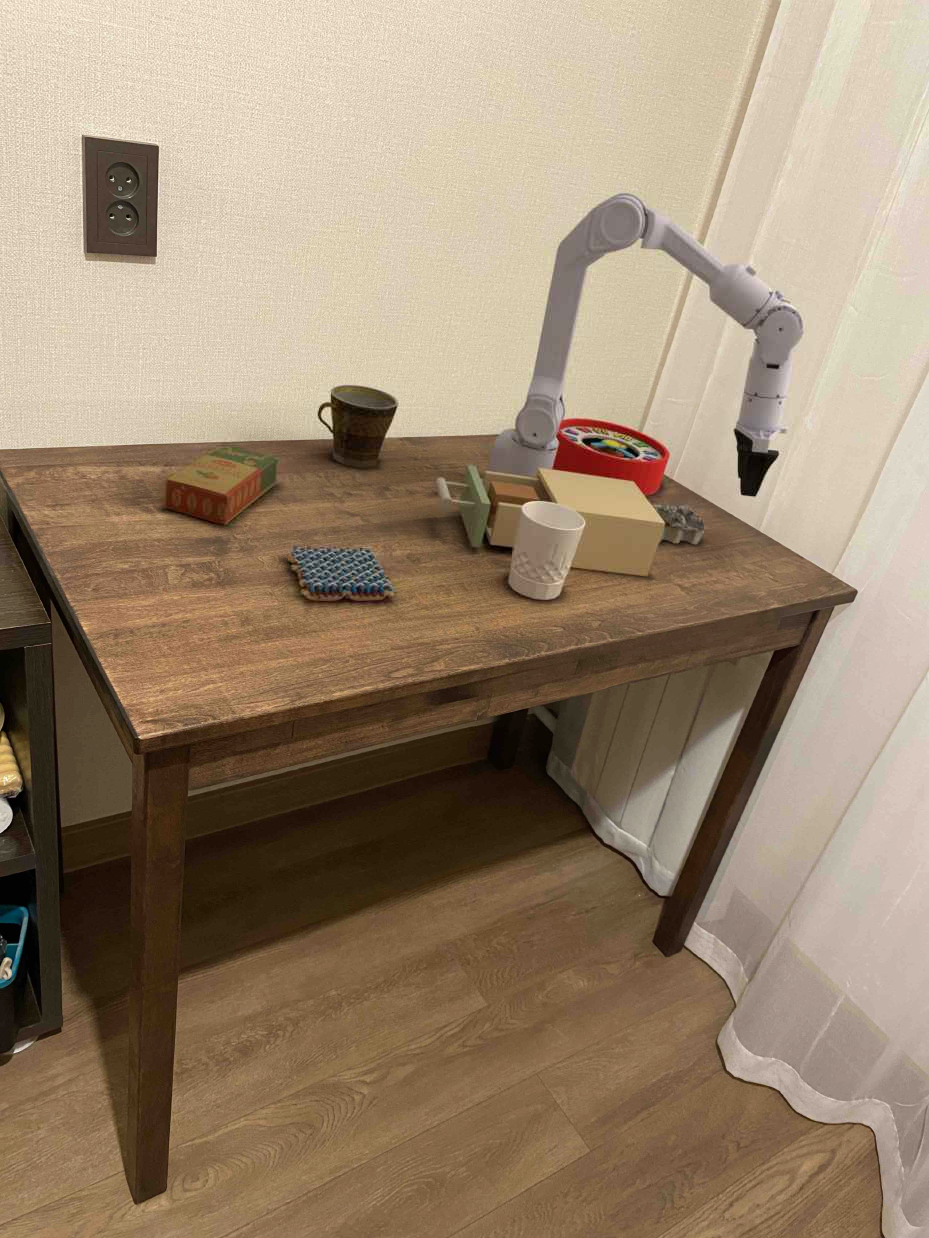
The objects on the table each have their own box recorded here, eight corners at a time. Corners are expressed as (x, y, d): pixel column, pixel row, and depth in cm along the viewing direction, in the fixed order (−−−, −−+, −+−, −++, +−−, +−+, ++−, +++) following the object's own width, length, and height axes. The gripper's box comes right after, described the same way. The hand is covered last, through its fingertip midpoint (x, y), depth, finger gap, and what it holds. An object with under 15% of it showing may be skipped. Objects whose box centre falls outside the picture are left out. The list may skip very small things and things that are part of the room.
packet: (487, 527, 122) (496, 493, 120) (482, 513, 126) (490, 480, 124) (530, 533, 124) (539, 499, 121) (524, 519, 127) (532, 486, 125)
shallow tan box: (545, 564, 121) (560, 508, 117) (524, 519, 133) (537, 467, 129) (647, 576, 124) (665, 523, 120) (617, 531, 136) (633, 481, 132)
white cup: (546, 610, 110) (568, 535, 105) (491, 584, 113) (509, 510, 108) (574, 590, 116) (595, 519, 111) (521, 565, 119) (540, 495, 114)
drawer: (437, 542, 118) (447, 498, 115) (427, 501, 129) (435, 459, 125) (569, 559, 122) (582, 516, 119) (548, 518, 133) (559, 478, 130)
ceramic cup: (361, 444, 145) (371, 383, 140) (400, 469, 140) (412, 406, 135) (292, 451, 137) (300, 386, 132) (331, 478, 131) (340, 411, 126)
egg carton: (645, 543, 135) (653, 518, 132) (623, 520, 141) (631, 496, 139) (706, 546, 138) (715, 522, 136) (683, 524, 144) (691, 500, 142)
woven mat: (370, 559, 112) (373, 544, 111) (395, 604, 103) (398, 588, 102) (285, 558, 107) (287, 542, 106) (304, 604, 99) (306, 588, 98)
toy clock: (616, 418, 168) (693, 461, 155) (608, 448, 171) (682, 492, 157) (532, 418, 157) (607, 464, 143) (524, 450, 160) (597, 498, 146)
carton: (162, 509, 112) (164, 477, 110) (219, 469, 126) (221, 440, 124) (226, 527, 111) (229, 494, 109) (276, 484, 125) (279, 455, 123)
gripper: (800, 409, 120) (779, 506, 126) (789, 384, 132) (771, 474, 139) (745, 404, 121) (727, 500, 127) (739, 379, 133) (723, 469, 140)
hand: (746, 486), depth 133 cm, fingers open, 7 cm apart
